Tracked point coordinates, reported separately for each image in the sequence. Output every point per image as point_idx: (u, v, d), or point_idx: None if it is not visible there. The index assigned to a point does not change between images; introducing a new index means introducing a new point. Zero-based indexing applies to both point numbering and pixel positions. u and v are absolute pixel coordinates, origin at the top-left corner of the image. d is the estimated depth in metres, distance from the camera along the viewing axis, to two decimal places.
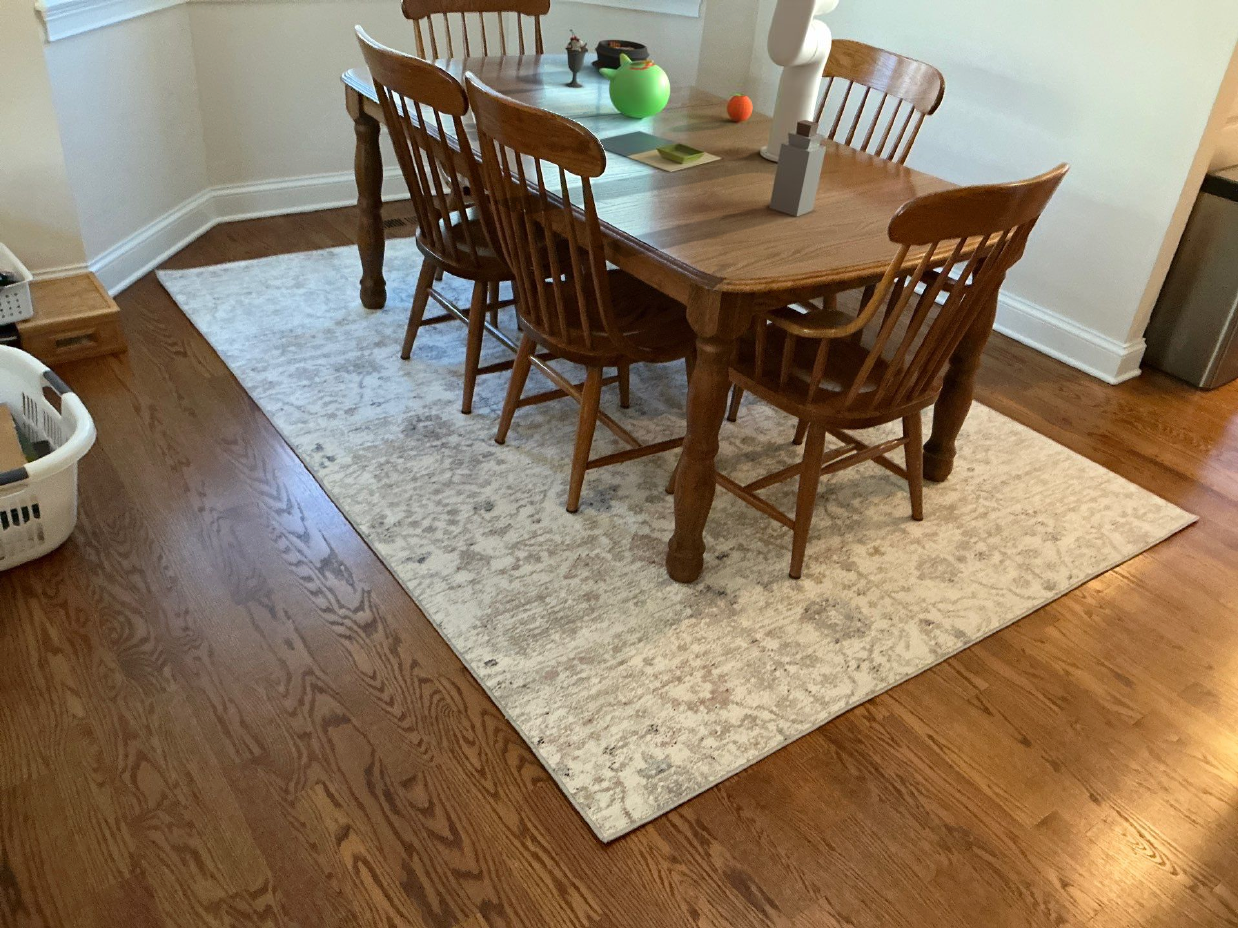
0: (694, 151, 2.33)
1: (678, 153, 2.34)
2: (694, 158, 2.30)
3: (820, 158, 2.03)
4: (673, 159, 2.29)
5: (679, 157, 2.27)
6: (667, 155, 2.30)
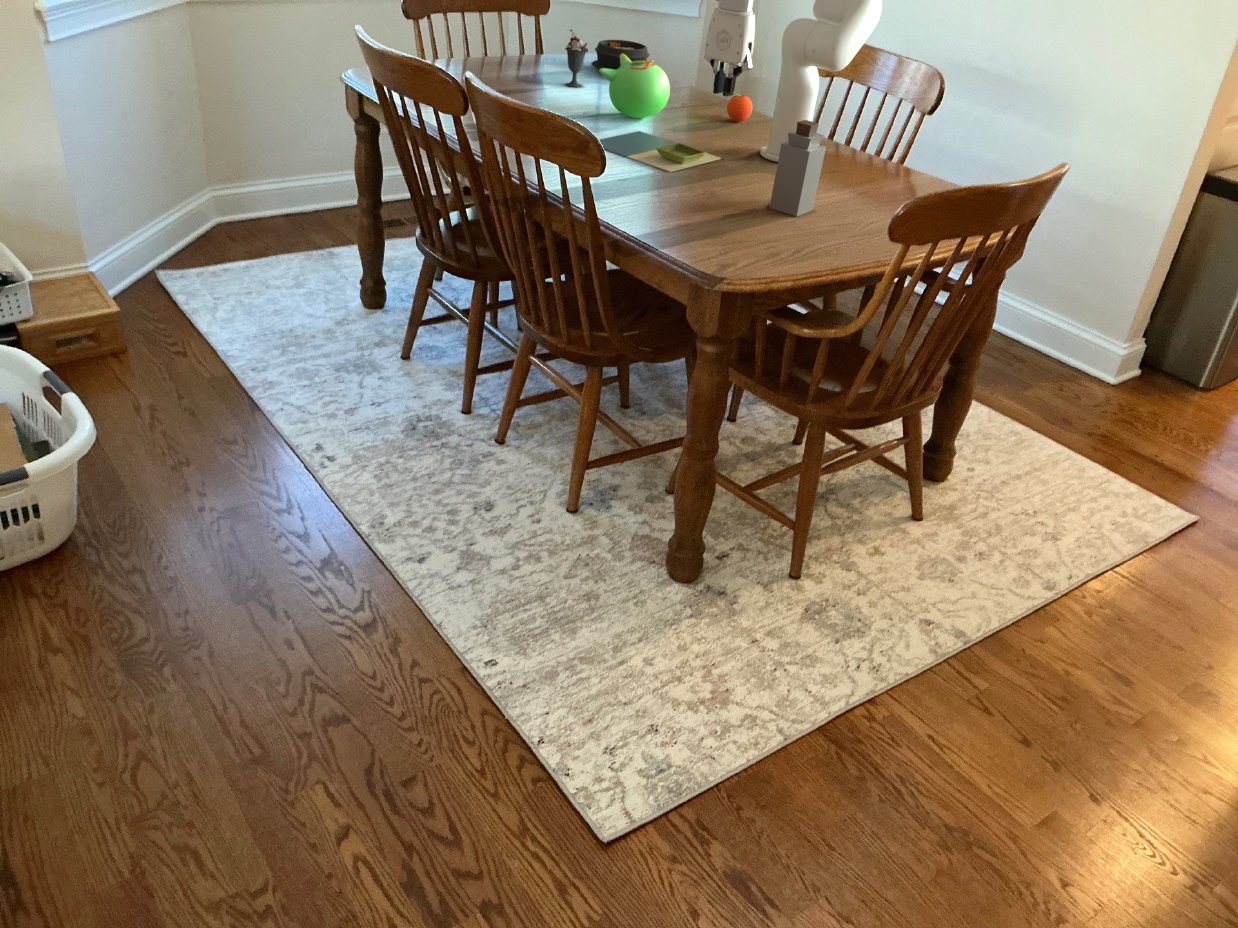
0: (694, 151, 2.33)
1: (678, 153, 2.34)
2: (694, 158, 2.30)
3: (820, 158, 2.03)
4: (673, 159, 2.29)
5: (679, 157, 2.27)
6: (667, 155, 2.30)
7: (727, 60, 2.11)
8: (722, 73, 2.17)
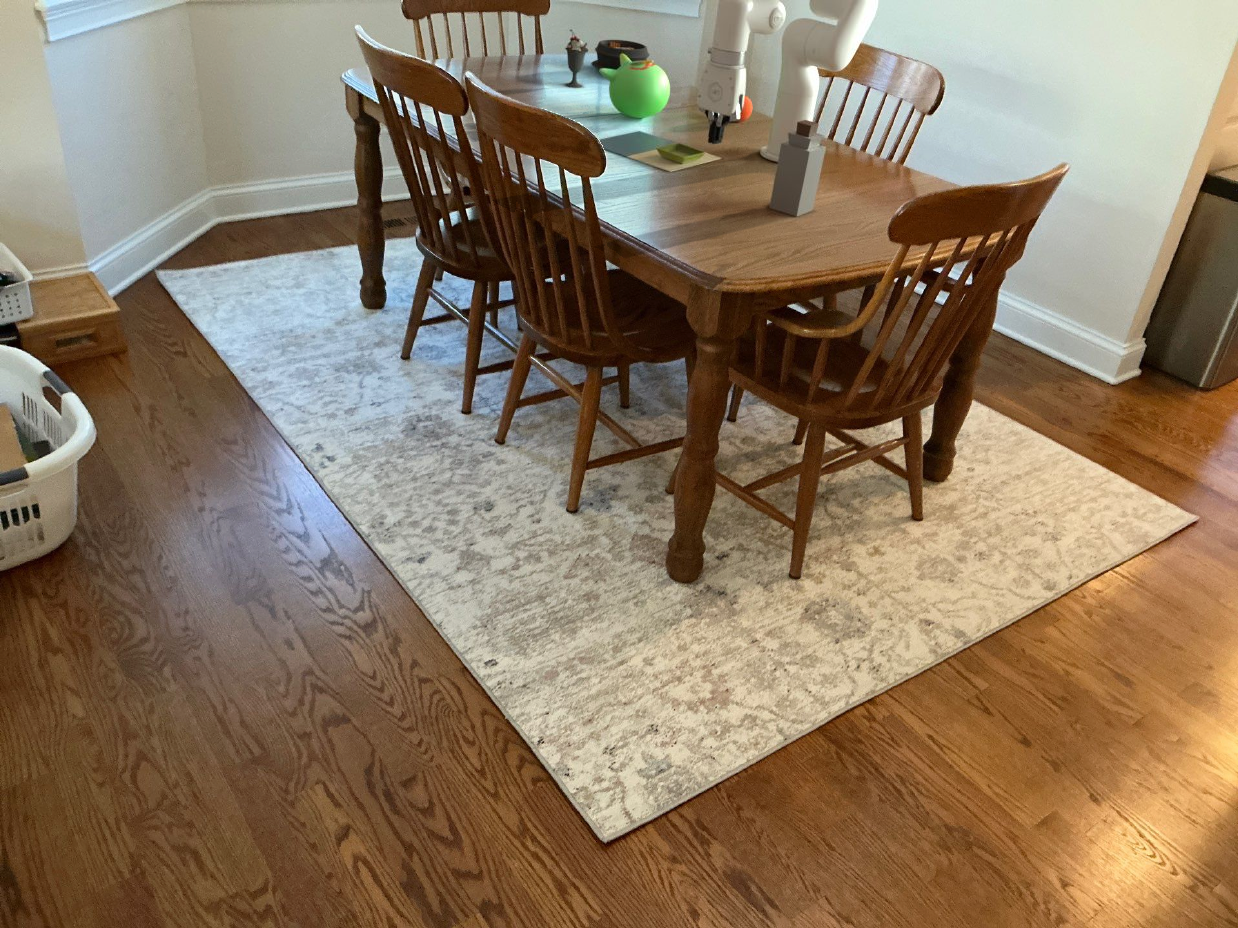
0: (694, 151, 2.33)
1: (678, 153, 2.34)
2: (694, 158, 2.30)
3: (820, 158, 2.03)
4: (673, 159, 2.29)
5: (679, 157, 2.27)
6: (667, 155, 2.30)
7: (719, 111, 2.17)
8: None
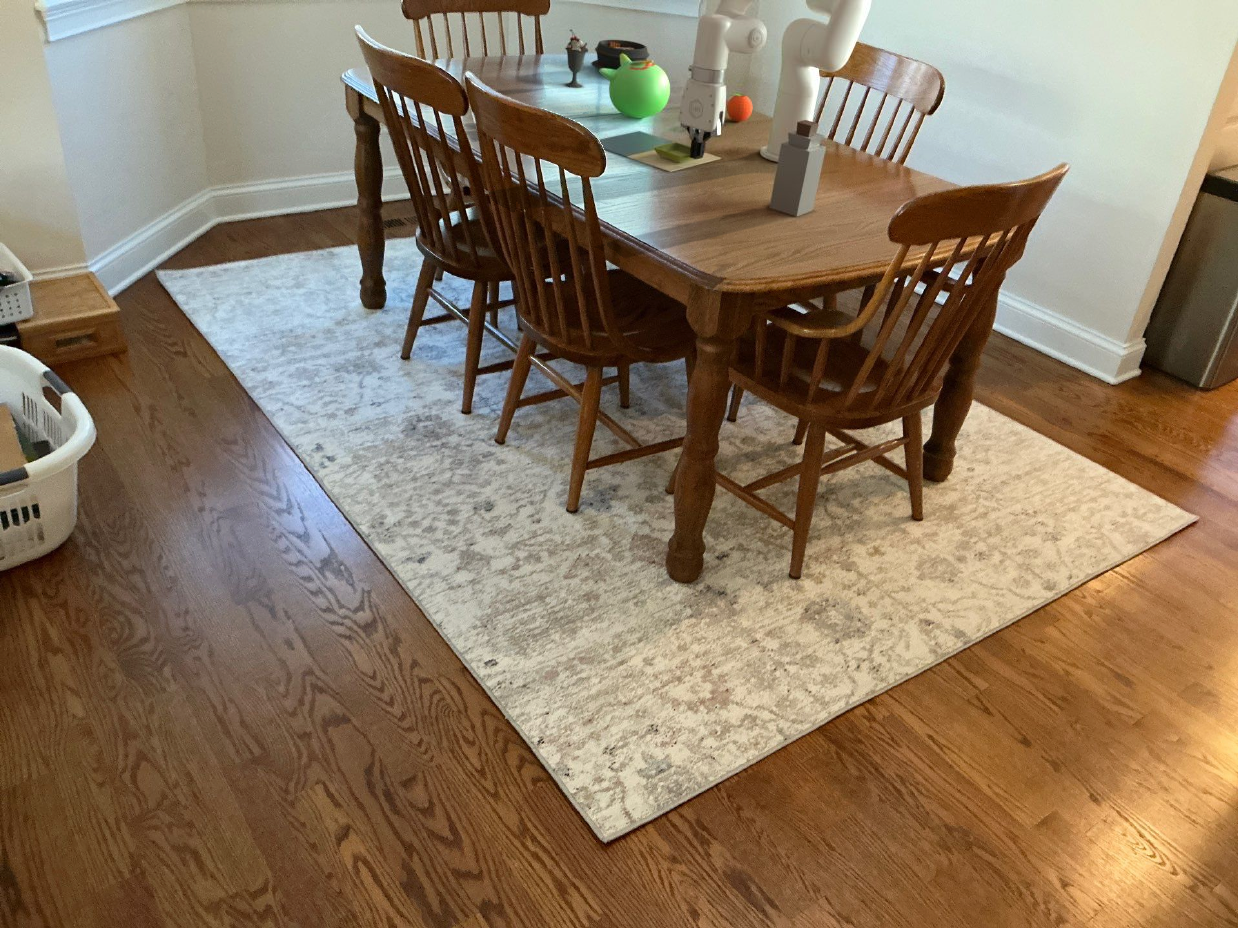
0: None
1: (675, 152, 2.34)
2: None
3: (820, 158, 2.03)
4: (670, 158, 2.30)
5: (676, 156, 2.27)
6: (664, 154, 2.30)
7: (700, 127, 2.22)
8: None
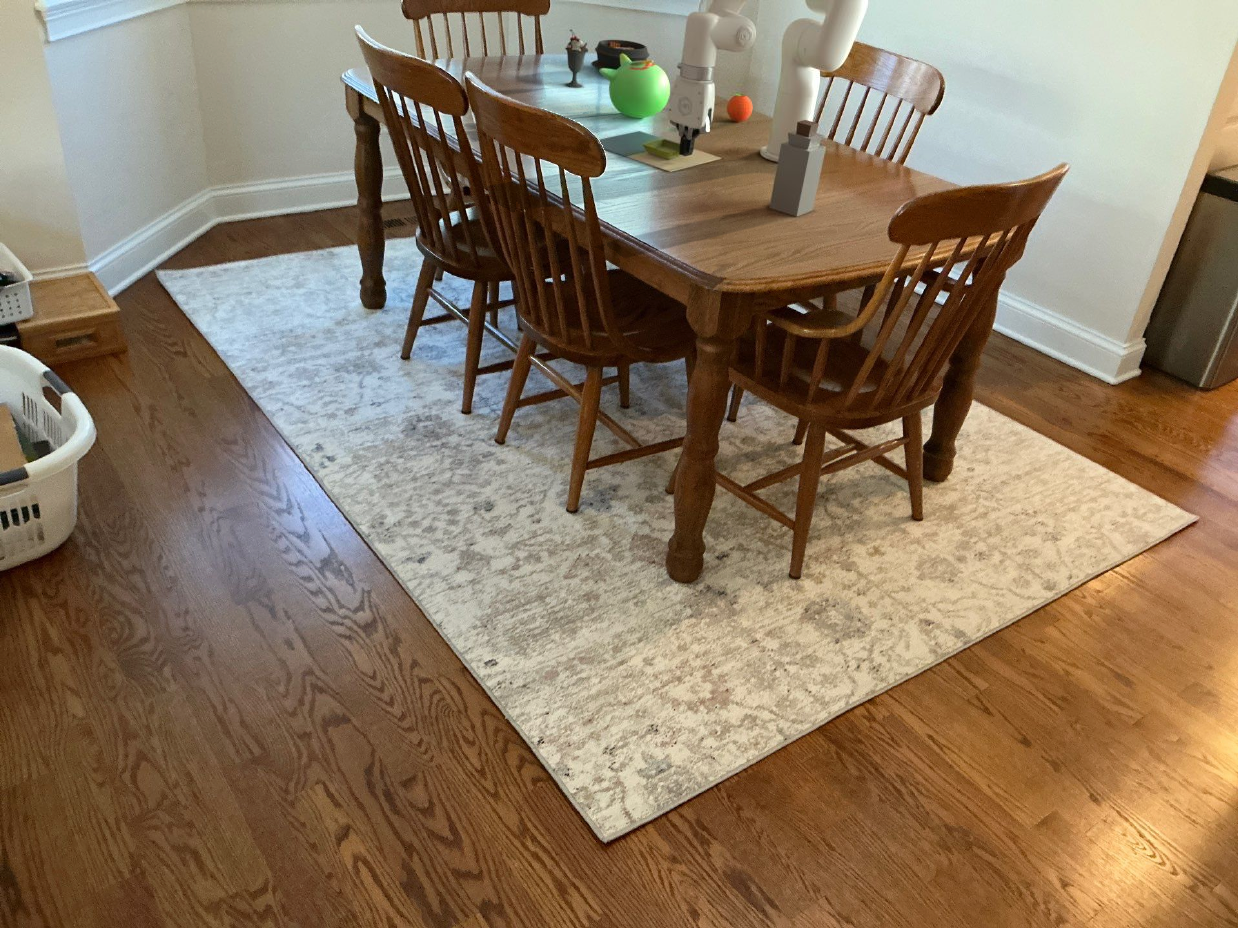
0: (679, 146, 2.35)
1: (664, 149, 2.36)
2: None
3: (820, 158, 2.03)
4: (660, 155, 2.31)
5: (666, 153, 2.29)
6: (653, 151, 2.31)
7: (688, 124, 2.24)
8: None
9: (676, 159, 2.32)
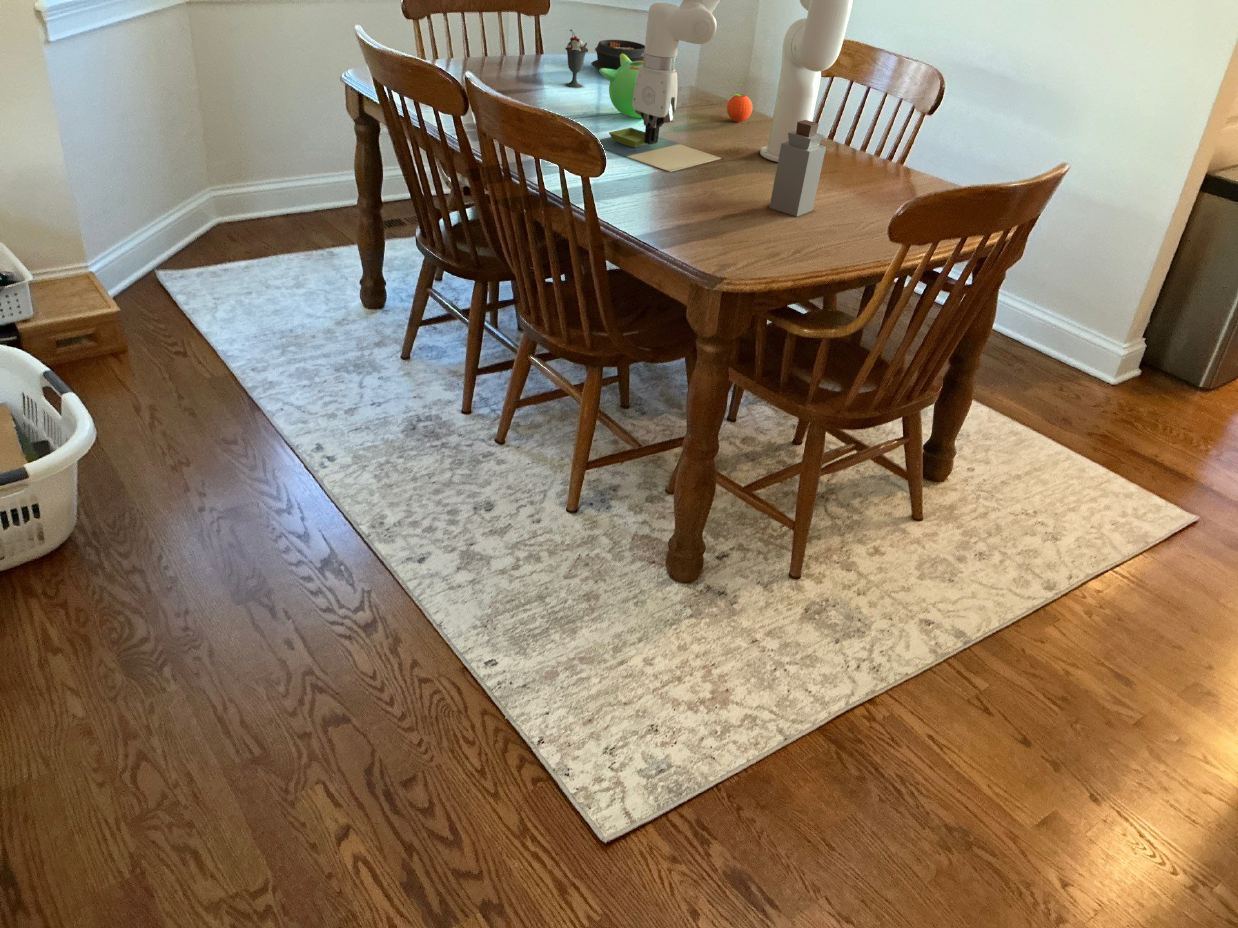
0: None
1: (630, 137, 2.41)
2: None
3: (820, 158, 2.03)
4: (625, 143, 2.37)
5: (631, 141, 2.35)
6: (620, 139, 2.37)
7: (652, 113, 2.29)
8: None
9: (676, 159, 2.32)
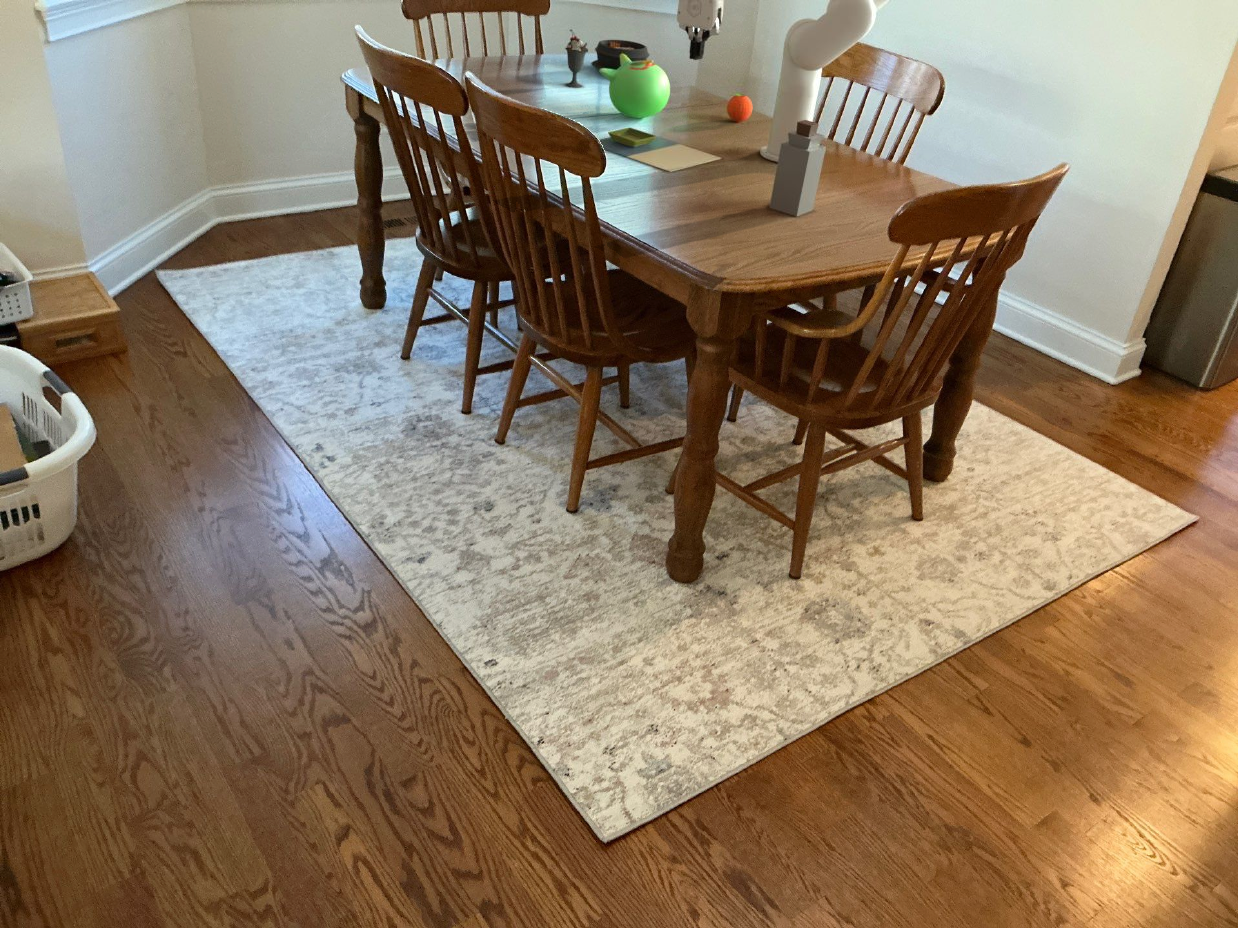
0: (645, 135, 2.41)
1: (630, 137, 2.41)
2: (645, 142, 2.38)
3: (821, 158, 2.03)
4: (625, 143, 2.37)
5: (630, 141, 2.35)
6: (619, 139, 2.37)
7: (698, 26, 2.24)
8: None
9: (676, 159, 2.32)
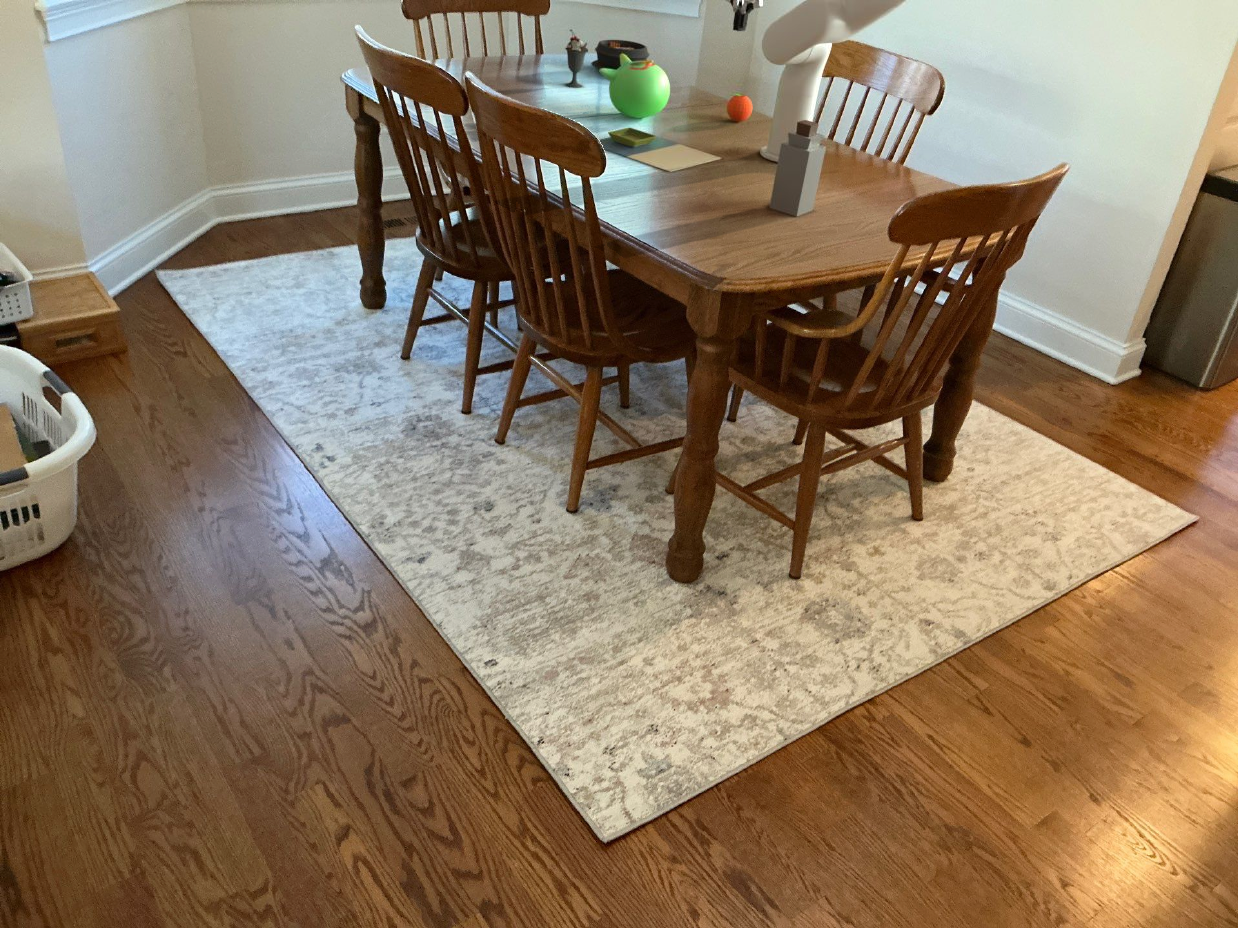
0: (645, 135, 2.41)
1: (630, 137, 2.41)
2: (645, 142, 2.38)
3: (820, 158, 2.03)
4: (625, 143, 2.37)
5: (630, 141, 2.35)
6: (619, 139, 2.37)
7: None
8: (741, 12, 2.41)
9: (676, 159, 2.32)
